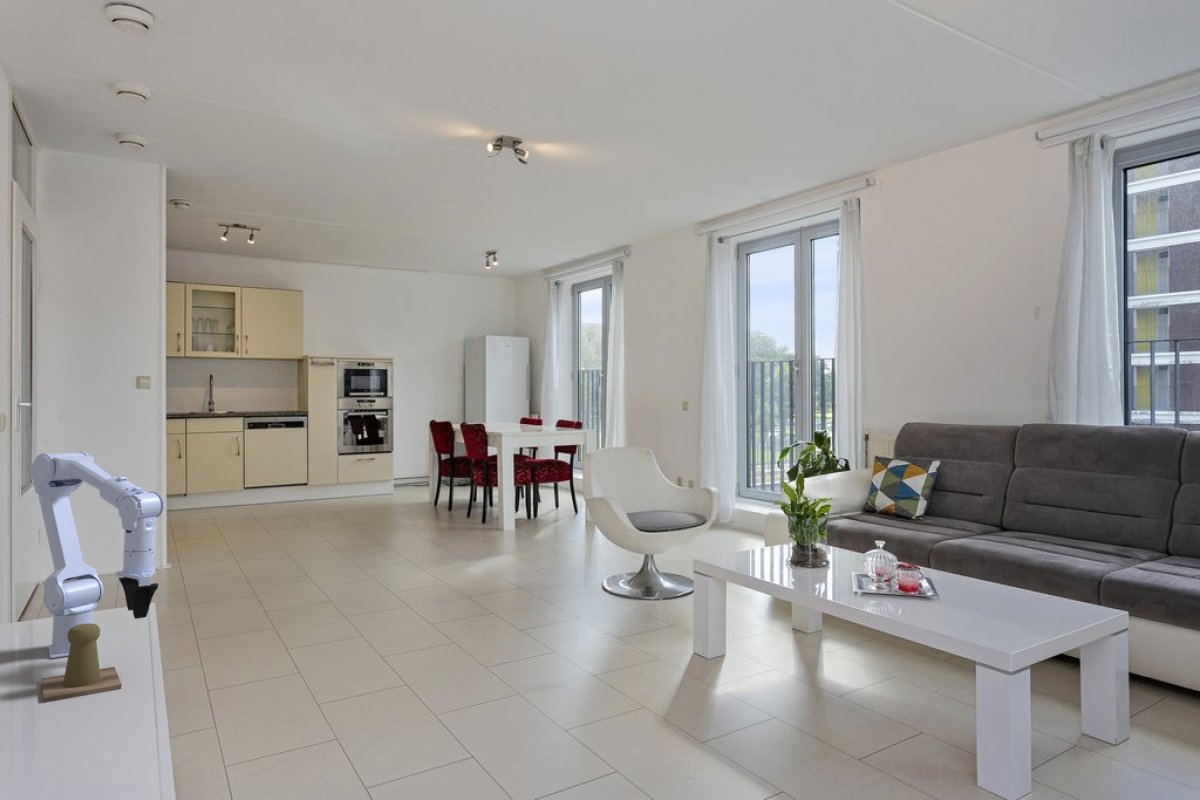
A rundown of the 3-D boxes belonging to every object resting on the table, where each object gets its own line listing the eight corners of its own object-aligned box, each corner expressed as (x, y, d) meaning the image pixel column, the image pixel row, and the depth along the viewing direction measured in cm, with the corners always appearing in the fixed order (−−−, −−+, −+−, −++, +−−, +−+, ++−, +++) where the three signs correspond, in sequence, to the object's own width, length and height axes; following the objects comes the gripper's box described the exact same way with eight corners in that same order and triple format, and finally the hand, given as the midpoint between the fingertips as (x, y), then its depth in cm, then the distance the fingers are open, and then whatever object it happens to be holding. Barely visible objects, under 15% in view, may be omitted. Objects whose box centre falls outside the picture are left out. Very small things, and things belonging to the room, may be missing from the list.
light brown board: (41, 682, 143) (41, 678, 143) (114, 670, 151) (114, 666, 151) (43, 702, 134) (43, 698, 134) (121, 688, 142) (121, 684, 142)
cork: (83, 688, 139) (86, 630, 139) (54, 686, 140) (57, 628, 140) (108, 677, 145) (110, 621, 145) (80, 675, 146) (82, 619, 146)
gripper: (112, 546, 159) (109, 609, 159) (123, 557, 148) (120, 624, 148) (149, 543, 164) (147, 604, 163) (163, 553, 153) (160, 619, 152)
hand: (137, 613), depth 156 cm, fingers open, 7 cm apart
